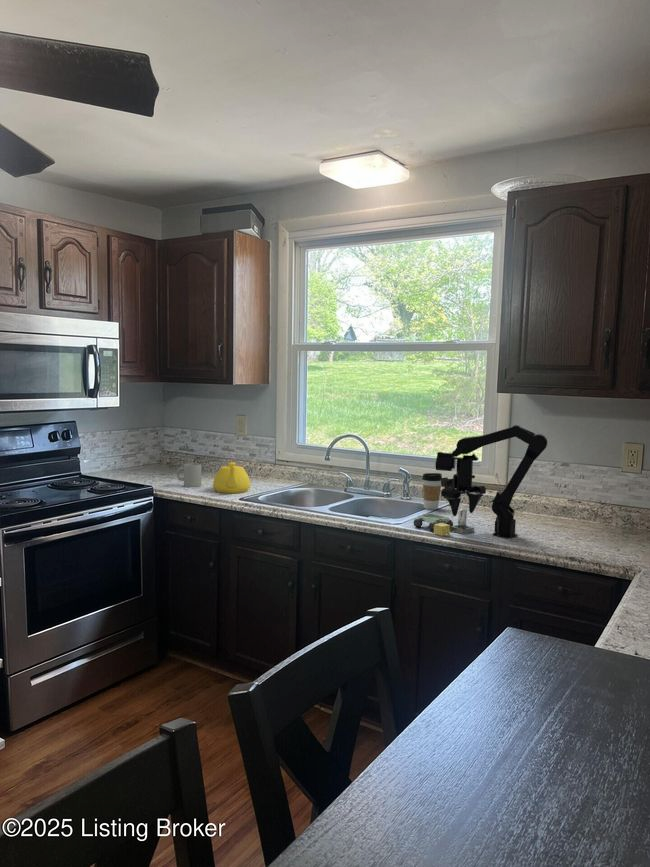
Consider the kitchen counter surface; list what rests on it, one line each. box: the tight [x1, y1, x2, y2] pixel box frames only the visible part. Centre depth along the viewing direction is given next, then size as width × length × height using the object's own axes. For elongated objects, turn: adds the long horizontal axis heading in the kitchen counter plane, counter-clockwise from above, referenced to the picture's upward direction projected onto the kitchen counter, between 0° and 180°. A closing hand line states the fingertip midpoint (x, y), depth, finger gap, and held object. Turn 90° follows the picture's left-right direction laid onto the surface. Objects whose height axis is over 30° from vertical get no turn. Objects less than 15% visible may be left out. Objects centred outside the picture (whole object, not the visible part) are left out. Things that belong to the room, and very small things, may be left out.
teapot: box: [212, 461, 251, 494], centre depth 302 cm, size 25×18×14 cm
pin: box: [457, 508, 468, 529], centre depth 232 cm, size 3×3×8 cm
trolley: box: [413, 513, 454, 533], centre depth 236 cm, size 11×10×4 cm
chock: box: [433, 523, 451, 537], centre depth 227 cm, size 4×4×4 cm
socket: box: [450, 524, 475, 535], centre depth 232 cm, size 6×6×2 cm
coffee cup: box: [421, 472, 443, 510], centre depth 272 cm, size 8×8×15 cm
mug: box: [176, 462, 202, 488], centre depth 314 cm, size 12×8×11 cm
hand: (462, 514), depth 231 cm, fingers open, 9 cm apart
